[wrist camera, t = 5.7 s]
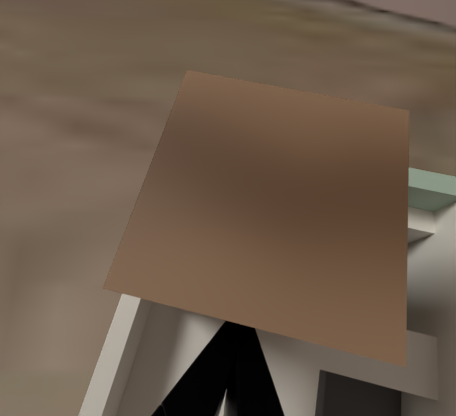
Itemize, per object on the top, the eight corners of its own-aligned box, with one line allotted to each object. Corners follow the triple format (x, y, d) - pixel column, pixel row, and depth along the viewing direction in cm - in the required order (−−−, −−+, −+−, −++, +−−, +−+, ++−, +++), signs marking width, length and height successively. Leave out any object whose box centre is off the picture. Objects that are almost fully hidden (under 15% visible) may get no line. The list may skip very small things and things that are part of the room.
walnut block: (300, 335, 13) (406, 367, 5) (174, 302, 13) (102, 288, 6) (317, 214, 15) (409, 110, 7) (207, 189, 15) (187, 70, 8)
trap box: (413, 593, 12) (533, 776, 7) (92, 489, 13) (16, 587, 8) (414, 216, 18) (480, 181, 13) (194, 169, 19) (183, 122, 14)
